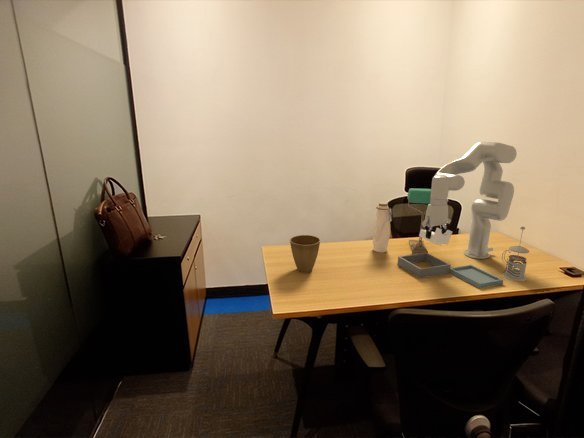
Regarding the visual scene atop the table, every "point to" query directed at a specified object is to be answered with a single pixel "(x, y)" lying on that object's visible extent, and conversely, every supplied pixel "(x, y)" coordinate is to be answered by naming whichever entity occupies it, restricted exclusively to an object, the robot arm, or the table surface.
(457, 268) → the tray
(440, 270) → the bin
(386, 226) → the water bottle
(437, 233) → the bracket
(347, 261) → the table surface
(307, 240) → the plant pot
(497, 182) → the robot arm
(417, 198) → the banker's lamp
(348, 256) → the table surface
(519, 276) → the french press
